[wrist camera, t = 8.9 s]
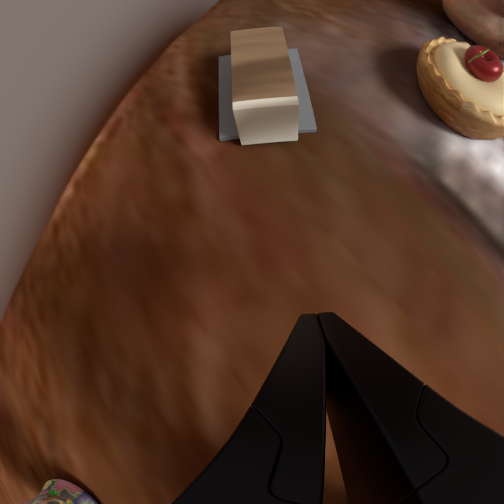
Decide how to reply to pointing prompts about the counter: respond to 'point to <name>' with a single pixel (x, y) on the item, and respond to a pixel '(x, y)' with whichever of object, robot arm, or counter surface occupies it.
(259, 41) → the block
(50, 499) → the mug
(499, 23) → the ceramic jug
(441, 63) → the pastry
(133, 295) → the counter surface
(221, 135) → the mat
